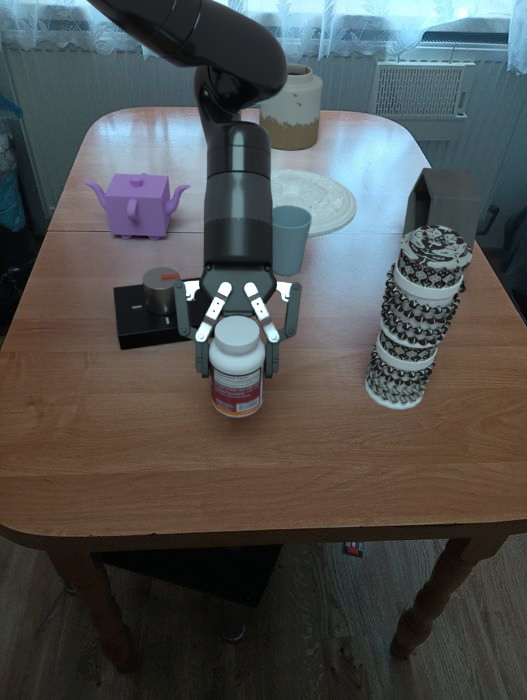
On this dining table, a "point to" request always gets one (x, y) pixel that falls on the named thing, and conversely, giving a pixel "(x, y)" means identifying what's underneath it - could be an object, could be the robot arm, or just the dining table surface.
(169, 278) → the hob knob
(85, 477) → the dining table surface
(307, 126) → the vase
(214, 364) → the pill bottle
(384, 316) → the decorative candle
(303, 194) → the ceiling medallion
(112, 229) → the teapot
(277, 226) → the cup
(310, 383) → the dining table surface
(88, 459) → the dining table surface
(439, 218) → the planter
